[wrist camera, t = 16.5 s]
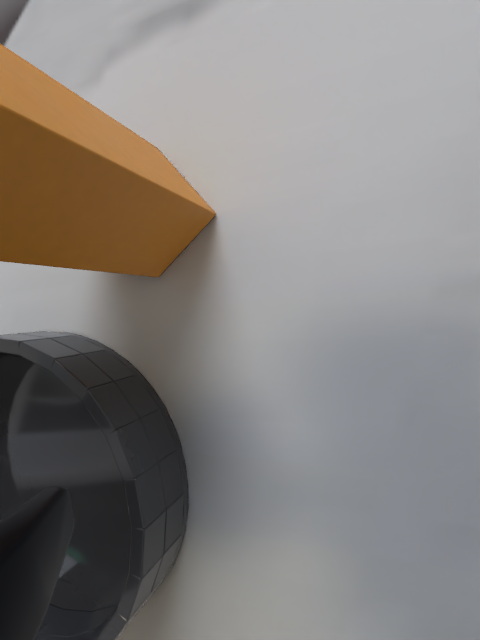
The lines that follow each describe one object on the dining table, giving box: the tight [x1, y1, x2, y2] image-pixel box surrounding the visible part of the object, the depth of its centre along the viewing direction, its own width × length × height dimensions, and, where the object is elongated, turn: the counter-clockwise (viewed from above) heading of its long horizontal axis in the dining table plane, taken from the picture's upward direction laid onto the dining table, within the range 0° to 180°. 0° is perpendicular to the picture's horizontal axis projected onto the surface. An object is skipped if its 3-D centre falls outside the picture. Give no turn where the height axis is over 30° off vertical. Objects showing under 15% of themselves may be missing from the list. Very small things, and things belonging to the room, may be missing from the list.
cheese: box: [0, 44, 216, 277], centre depth 14 cm, size 4×4×12 cm
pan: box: [0, 331, 188, 640], centre depth 20 cm, size 15×15×4 cm
